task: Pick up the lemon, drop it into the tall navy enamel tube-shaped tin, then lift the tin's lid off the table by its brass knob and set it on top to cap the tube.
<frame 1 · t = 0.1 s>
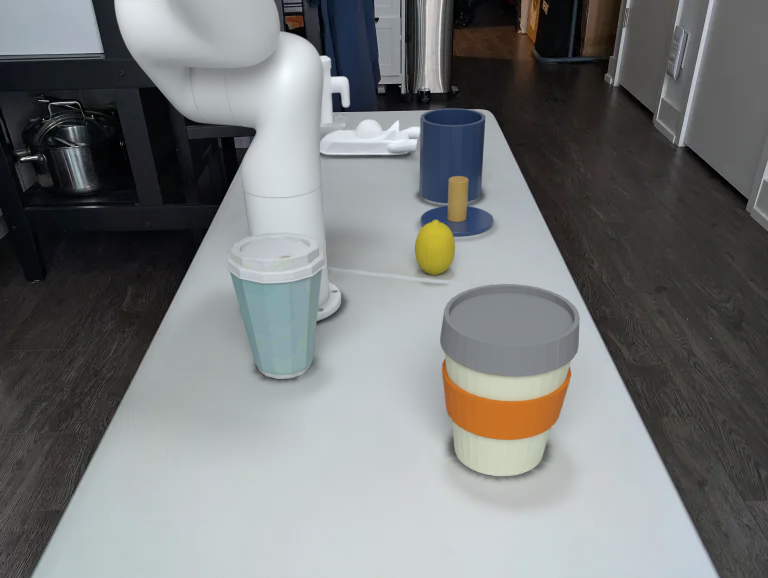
tin lid: (456, 222, 126), point 1 cm above the table
lemon: (434, 278, 112), on the table
tin: (450, 195, 136), on the table
plane toy: (367, 152, 156), on the table
disposable coffee cup: (287, 366, 94), on the table
reusable coffee cup: (498, 450, 81), on the table
white faucet: (328, 141, 161), on the table
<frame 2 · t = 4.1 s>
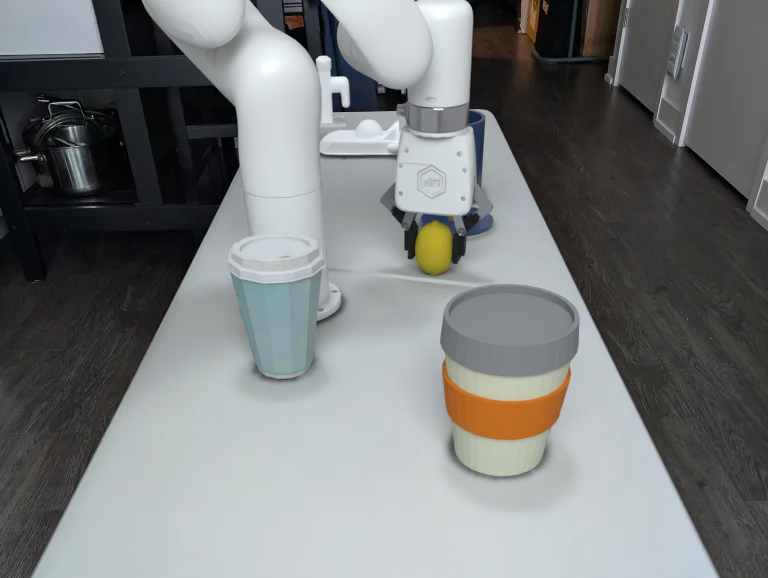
hand: (434, 256, 110), 3 cm above the table, tool pointing down, fingers closed on lemon, 5 cm apart
lemon: (434, 278, 112), on the table, touching gripper
everything else where it was.
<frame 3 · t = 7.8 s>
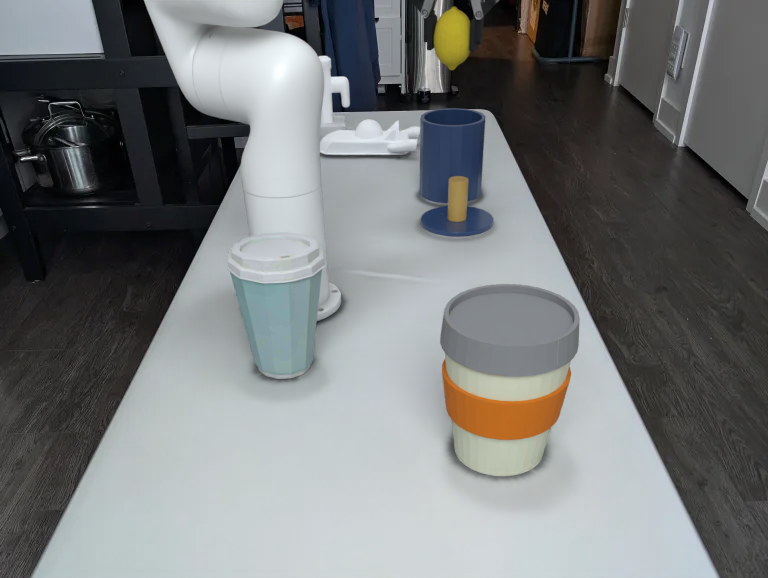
hand: (452, 47, 115), 24 cm above the table, tool pointing down, fingers closed on lemon, 5 cm apart
lemon: (451, 71, 117), point 21 cm above the table, touching gripper
plane toy: (367, 152, 156), on the table, touching white faucet
white faucet: (328, 141, 161), on the table, touching plane toy
everything else where it was.
when the fingers open (13 cm above the table, at t = 11.5 s): lemon drops 10 cm, resting on tin.
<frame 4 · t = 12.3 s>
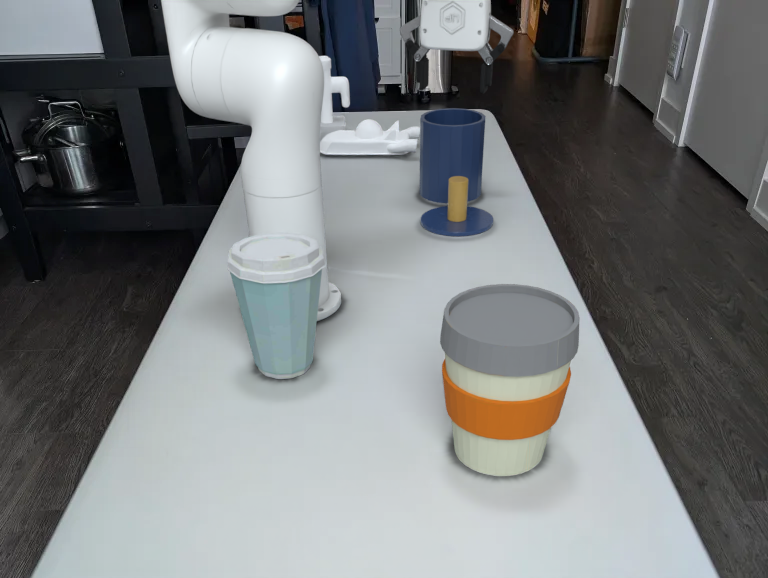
hand: (453, 89, 125), 17 cm above the table, tool pointing down, fingers open, 9 cm apart
lemon: (449, 194, 136), resting on tin
plane toy: (367, 152, 156), on the table
white faucet: (328, 141, 161), on the table
everything else where it was.
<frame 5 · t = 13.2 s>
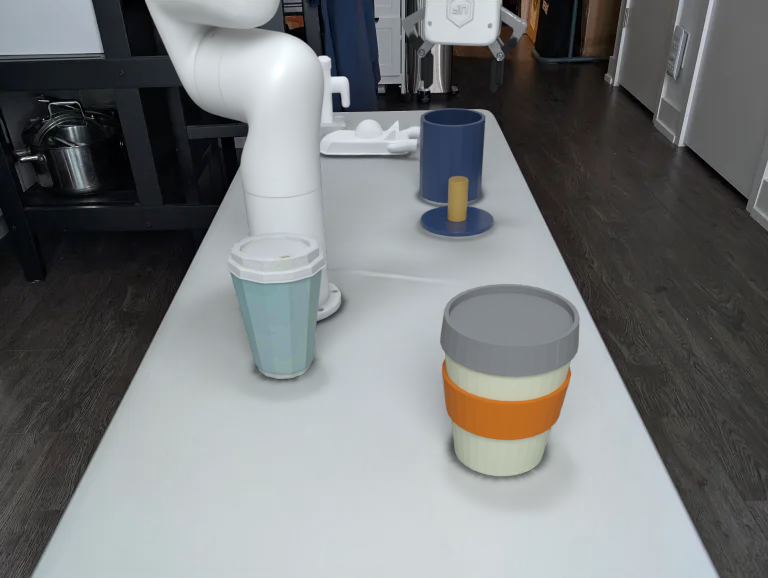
hand: (460, 88, 115), 19 cm above the table, tool pointing down, fingers open, 9 cm apart
nothing on the table moved.
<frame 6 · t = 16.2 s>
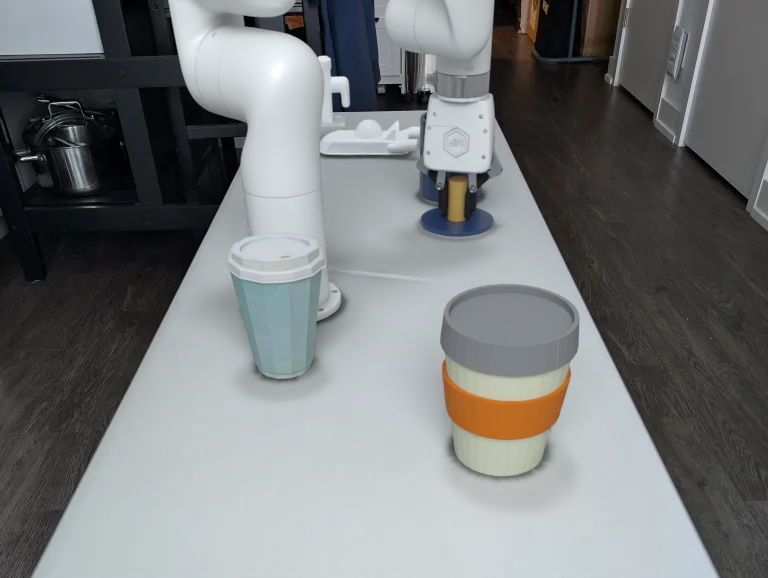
hand: (457, 213, 125), 2 cm above the table, tool pointing down, fingers closed on tin lid, 3 cm apart
tin lid: (456, 222, 126), point 1 cm above the table, touching gripper
everything else where it was.
when the fingers open (14 cm above the table, at t = 23.1 s): tin lid stays where it is, resting on tin.
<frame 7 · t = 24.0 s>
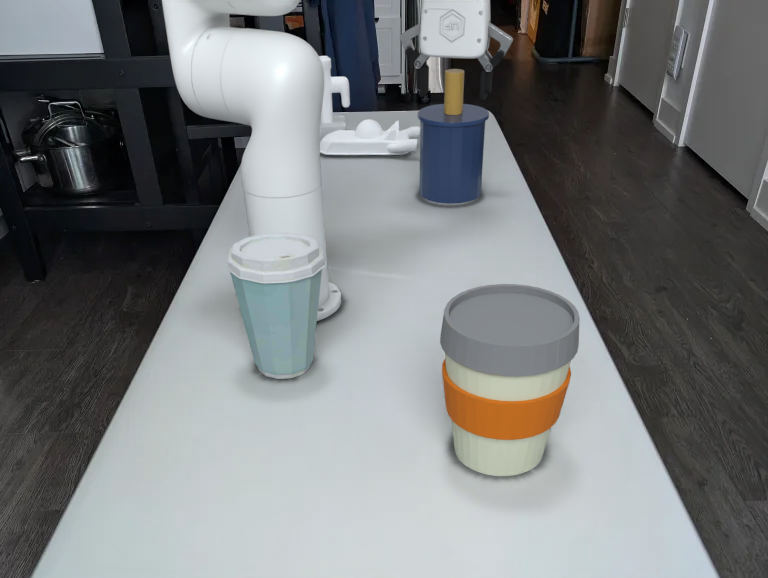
hand: (453, 96, 126), 15 cm above the table, tool pointing down, fingers open, 9 cm apart
tin lid: (453, 116, 128), point 12 cm above the table, touching tin
everything else where it was.
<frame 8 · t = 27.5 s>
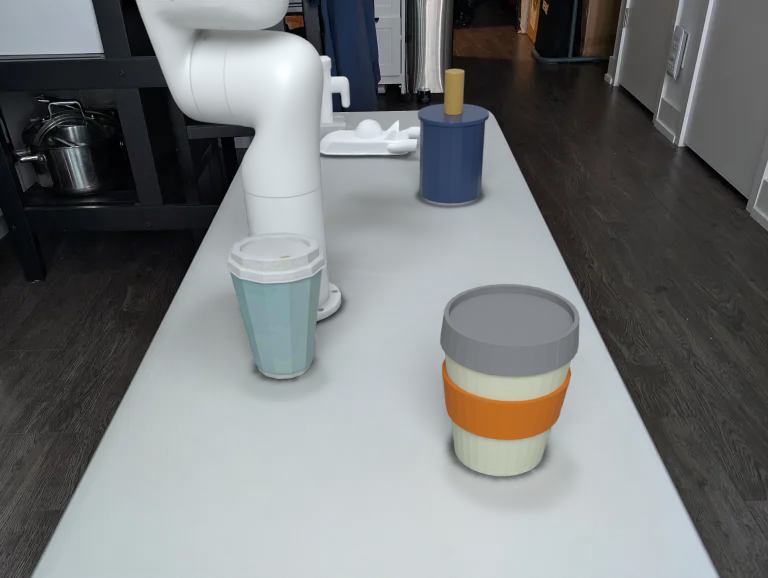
nothing on the table moved.
at the end: lemon inside the target area in the tin (0.2 cm from its centre), point 0.3 cm above the tin's base; tin lid 0.1 cm off-centre on the tin, point 12.5 cm above the tin's base; tin lid tilted 0° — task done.
